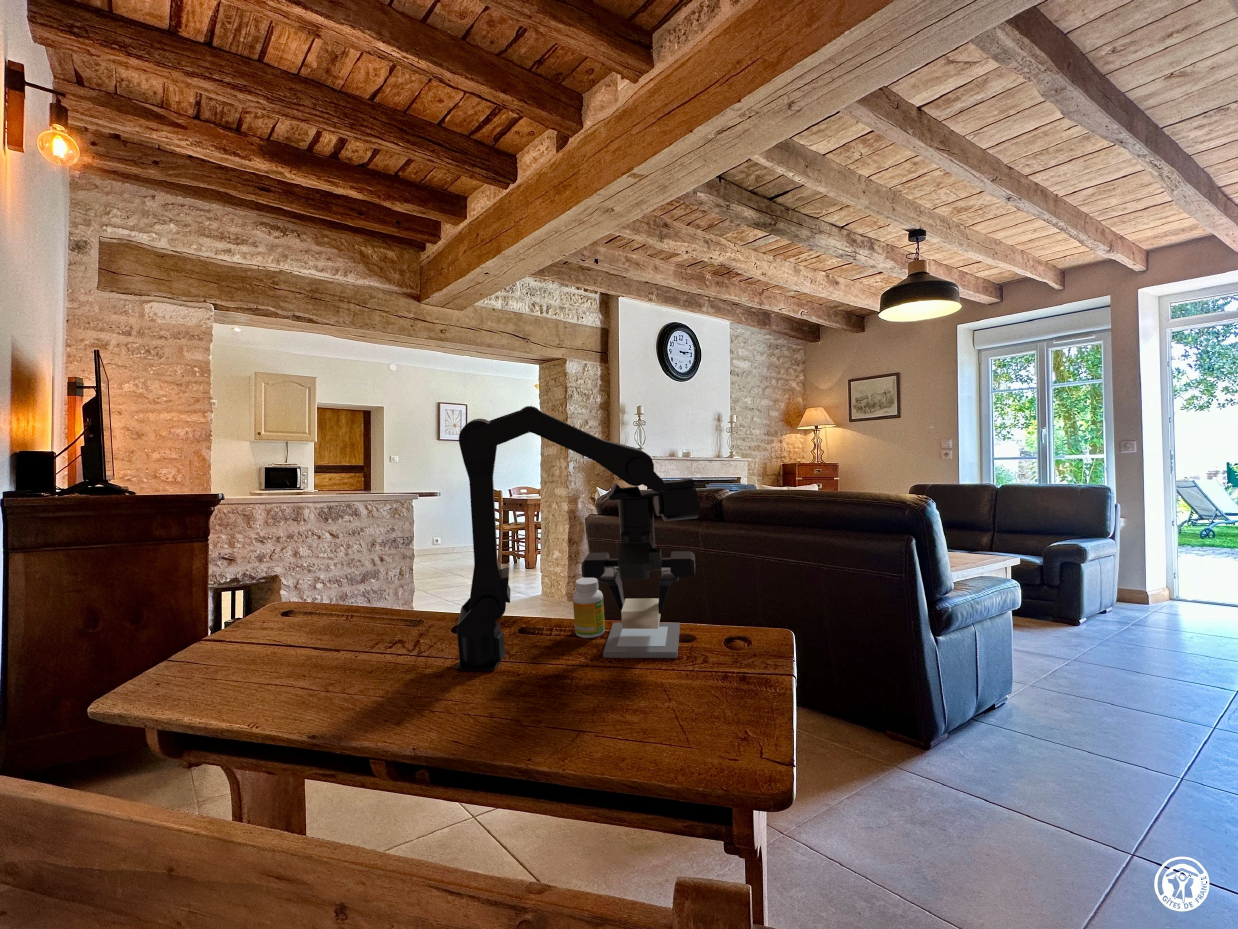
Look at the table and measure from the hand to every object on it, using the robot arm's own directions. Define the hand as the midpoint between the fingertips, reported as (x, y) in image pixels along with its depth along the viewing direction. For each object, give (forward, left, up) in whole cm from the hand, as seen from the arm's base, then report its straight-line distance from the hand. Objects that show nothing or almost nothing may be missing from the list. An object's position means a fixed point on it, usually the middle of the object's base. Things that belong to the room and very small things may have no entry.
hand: (641, 613), depth 106 cm
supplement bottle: (-10, +4, -5) cm, 12 cm away
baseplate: (0, 0, -5) cm, 5 cm away
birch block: (0, 0, -2) cm, 2 cm away
